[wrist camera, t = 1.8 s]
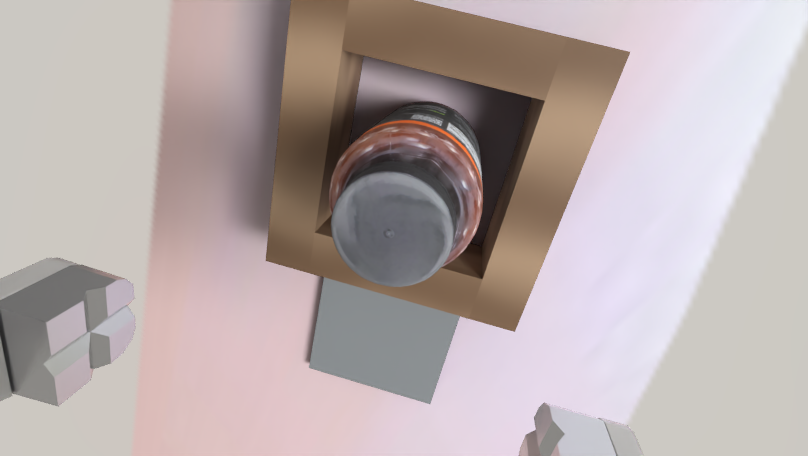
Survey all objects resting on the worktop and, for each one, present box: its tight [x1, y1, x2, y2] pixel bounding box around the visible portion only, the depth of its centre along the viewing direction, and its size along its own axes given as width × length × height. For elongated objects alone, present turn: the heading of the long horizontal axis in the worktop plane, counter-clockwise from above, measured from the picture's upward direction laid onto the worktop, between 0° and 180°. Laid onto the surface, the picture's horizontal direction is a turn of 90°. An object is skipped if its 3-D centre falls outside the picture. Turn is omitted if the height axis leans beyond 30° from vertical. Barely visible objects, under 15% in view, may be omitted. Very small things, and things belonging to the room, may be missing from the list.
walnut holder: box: [266, 0, 630, 332], centre depth 22 cm, size 14×14×4 cm
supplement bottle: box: [329, 102, 483, 287], centre depth 18 cm, size 6×6×11 cm
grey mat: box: [309, 277, 460, 404], centre depth 28 cm, size 9×9×1 cm
